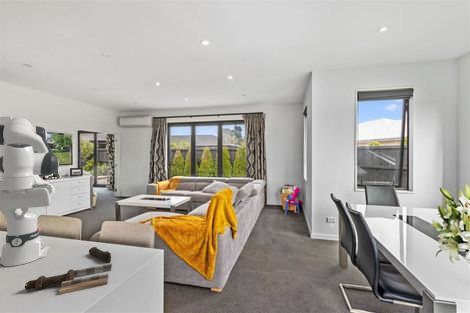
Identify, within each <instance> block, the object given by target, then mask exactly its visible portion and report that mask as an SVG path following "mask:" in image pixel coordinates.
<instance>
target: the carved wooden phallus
mask: <svg viewBox="0 0 470 313" xmlns="http://www.w3.org/2000/svg"><path fill="white" fill-rule="evenodd" d="M88 254H89V255H90V256H95V257H96V258H99V259H100V260H101V261H102V262H103V261H104V262H103V263H108V264H111V262H112V253H111V252H109V251H103V250H102V249H100V248H98V247H97V246H93V247H91V248H89V250H88Z"/></svg>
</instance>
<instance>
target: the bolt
mask: <svg viewBox="0 0 470 313" xmlns="http://www.w3.org/2000/svg"><path fill="white" fill-rule="evenodd" d="M74 270H75V269H69V270H68V271H67V272H66V273H64V274H63V273H62V274H58V275H53V276H49V277H46V276H45V275H40V276H39V277H37V279H33V280H29V281H27V282H25V286H24V289H25V290H26V291H27V290H30V291H31V290H33V289H35V290H36V291H40V290H43V289H44V288H45V287H49V286H54V285H59V284H61V283H62V282H65V281H70V280H75V277H74Z"/></svg>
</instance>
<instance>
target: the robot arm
mask: <svg viewBox="0 0 470 313" xmlns="http://www.w3.org/2000/svg"><path fill="white" fill-rule="evenodd" d="M47 140H48V132H47V130H46V129H45V127H42V126H38V125H33V124H32V123H31V122H30V120H28V119H27V118H24V117H18V116H16V117H12V118H10V119H8V120H7V121H6V122H5V124H0V146H5V147H4V150H3V155H1V156H0V173H2V174H3V175H2V178H1V179H2V180H1V181H0V213H1V214H2V215H3V216H4V218H5V223H6V233H7V234H6V235H5V244H4V245H2V247H1V254H0V265H1V264H2V265H4V266H3V267H15V266H20V265H24V264H29V263H31V262H34V261H36V260H40V259H42V258H45V257H46V256H47V254H48V253H49V250H50V246H47V245H45V240H44V239H43V238H42V236H40V231H41V227H39V228H38V215H37V214H36V213H34V212H31V211H29V209H30V208H44V207H45V208H46V207H49V206H51V205H52V204H53V200H54V198H55V196H56V193H57V192H56V187H55V186H54V185H53V184H52V183H49V182H47V181H46V180H44V179H43V178H41V177H40V176H52V175H53V174H54V173H55V172H57V171H58V170H59V167H60V165H59V164H60V161H59V159H58V156H57V155H56V154H55V153H54V152H53V150H52V148H51V147H50V145H49V143H48V142H47Z"/></svg>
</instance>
